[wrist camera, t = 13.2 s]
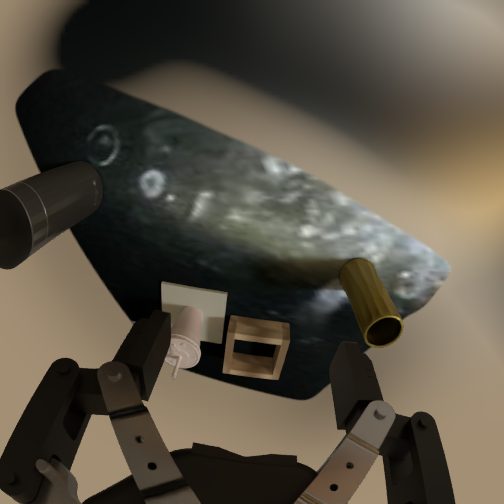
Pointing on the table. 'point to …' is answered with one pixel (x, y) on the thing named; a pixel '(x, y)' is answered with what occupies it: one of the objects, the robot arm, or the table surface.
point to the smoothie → (185, 340)
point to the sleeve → (256, 333)
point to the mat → (203, 300)
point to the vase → (371, 303)
